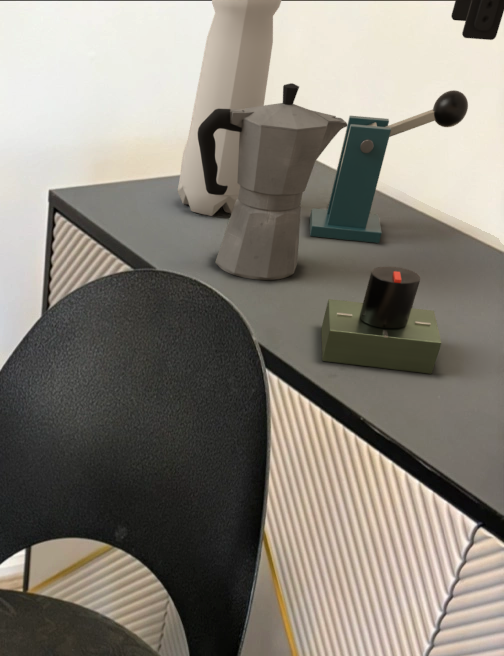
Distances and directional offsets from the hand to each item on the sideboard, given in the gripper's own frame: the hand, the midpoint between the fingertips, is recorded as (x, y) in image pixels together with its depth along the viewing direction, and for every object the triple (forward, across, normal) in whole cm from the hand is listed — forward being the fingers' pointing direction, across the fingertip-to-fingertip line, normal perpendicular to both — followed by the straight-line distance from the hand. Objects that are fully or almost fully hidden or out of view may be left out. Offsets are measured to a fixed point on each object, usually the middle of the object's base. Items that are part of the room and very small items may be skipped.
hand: (471, 29), depth 115 cm
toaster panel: (+22, +31, -6) cm, 39 cm away
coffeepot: (+22, +11, -18) cm, 31 cm away
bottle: (+22, -9, -23) cm, 33 cm away
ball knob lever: (+12, -5, -2) cm, 13 cm away
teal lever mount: (+22, -5, -7) cm, 24 cm away
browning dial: (+19, +31, -6) cm, 37 cm away
